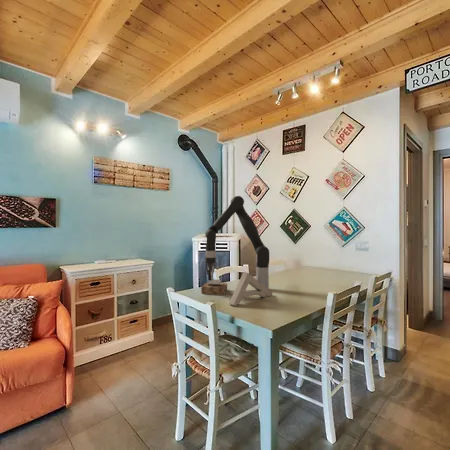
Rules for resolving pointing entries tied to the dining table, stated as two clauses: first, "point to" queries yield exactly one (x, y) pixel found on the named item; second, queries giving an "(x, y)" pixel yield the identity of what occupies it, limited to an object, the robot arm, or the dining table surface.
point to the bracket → (213, 280)
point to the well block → (214, 288)
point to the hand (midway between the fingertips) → (210, 279)
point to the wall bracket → (243, 293)
